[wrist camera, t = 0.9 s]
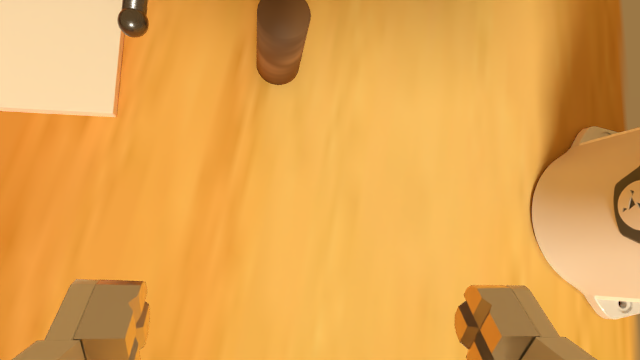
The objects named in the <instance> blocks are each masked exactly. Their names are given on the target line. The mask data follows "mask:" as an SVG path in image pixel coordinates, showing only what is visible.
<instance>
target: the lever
mask: <svg viewBox="0 0 640 360" xmlns="http://www.w3.org/2000/svg"><path fill="white" fill-rule="evenodd" d="M147 2H148V0H123V1H122V10H121V11H120V13H119V15H118V19H117V22H118V26H119V28H120V30H121V31H122V32H123V33H124V34H126V35H127V36H130V37H140V36H142V35H144V34H145V33H146V31H147V30H148V26H149V23H148V18H147V16H146V13H147Z"/></svg>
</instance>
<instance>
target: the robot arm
mask: <svg viewBox="0 0 640 360" xmlns="http://www.w3.org/2000/svg"><path fill="white" fill-rule="evenodd" d="M532 222H533V229H534V233H535V236H536V240H537V242H538V245H539V247H540V249H541V251H542V253H543V255H544V257H545V258H546V260H547V261H548V263H549V264H550V265H551V267H552V268H553V269H554V270H555V271H556V272H557V273H558V274H559V275H560V276H561V277H562V278H563V279H564V280H566V281H567V282H568V283H570V284H571V285H573V286H574V287H576V288H577V289H578V290H579V291H581V292H582V293H583V294H584V296H585V297H586V299H587V300H588V302H589V303H590V305H591V306H592V308H593V309H594V311H595V312H596V313H597V314H598V315H599V316H600V317H602V318H604V319H619V318H623V317H627V316H631V315H635V314H639V313H640V127H638V128H634V129H631V130H627V131H623V132H615V131H611V130H608V129H604V128H600V127H595V126H593V127H588V128H584V129H582V130H581V131H580V132H579V133H578V135H577V136H576V138H575V140H574V142H573V144H572V146H571V148H570V149H569V150H568V151H567V152H566V153H564V154H563V155H562V156H560V157H559V158H557V159H556V160H555V161H553V162H552V163H551V164H550V165H549V166H548V167H547V169H546V170H545V171H544V173H543V174H542V176H541V177H540V179H539V181H538V183H537V186H536V189H535V192H534V196H533V202H532ZM146 295H147V286H146V282H144V281H122V280H86V279H76V280H75V281H74V282H73V283H72V284H71V285H70V287H69V289H68V292H67V294H66V296H65V298H64V300H63V302H62V304H61V306H60V308H59V311H58V313H57V315H56V317H55V319H54V321H53V323H52V325H51V327H50V329H49V332H48V334H47V336H46V338H45V340H39V341H36V342H34V343H33V344H32V345H30V346H29V347H28V348H27V349H25V350H24V351H23V352H21V353H20V354H19V355H17V356H16V357H15V358H13V359H12V360H141V358H140V351H139V350H140V349H141V348H142V347H143V346H144V345H145V344H146V340H147V336H148V330H149V322H150V309H149V304H148V303H147V302H145V299H146ZM464 297H465V299H466V301H465V302H464V303H462V304H461V305H460V306H458V309H457V311H456V314H455V329H456V334H457V336H458V339H459V341H460V343H462V344H463V345H464V346H465V347H466V348H467V349H468V352H467V356H466V358H467V360H597V359H595V358H594V357H592V356H591V355H590V354H588V353H587V352H585V351H584V350H583V349H581V348H580V347H578V346H577V345H576V344H574V343H573V342H572V341H570V340H569V339H567V338H566V337H560V336H559V335H558V333H557V331H556V330H555V328H554V327H553V325H552V324H551V322H550V321H549V319H548V317H547V316H546V314H545V313H544V311H543V310H542V308H541V307H540V305H539V304H538V302H537V300H536V299H535V297H534V296H533V294H532V293H531V291H530V290H529V289H528V288H527V287H526V286H504V285H471V286H469V287H468V288H467V289H466V291H465V293H464ZM619 301H620V307H619Z"/></svg>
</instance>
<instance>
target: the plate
mask: <svg viewBox="0 0 640 360" xmlns="http://www.w3.org/2000/svg"><path fill="white" fill-rule="evenodd" d="M122 1H123V0H0V111H12V112H30V113H49V114H68V115H87V116H106V117H116V116H117V106H118V95H119V85H120V74H121V64H122V53H123V43H124V33H123V32H122V31H121V30H120V28H119V26H118V22H117V19H118V15H119V13H120V11H121V10H122Z"/></svg>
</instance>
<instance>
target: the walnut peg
mask: <svg viewBox="0 0 640 360" xmlns="http://www.w3.org/2000/svg"><path fill="white" fill-rule="evenodd" d="M310 17H311V14H310V9H309V6H308V4H307V2H306V1H305V0H261V1H260V2H259V5H258V9H257V70H258V72H259V74H260V76H261V77H262V78H263V79H264V80H266V81H267V82H269V83H271V84H275V85H282V84H286V83H288V82H290V81H292V80H293V79H294V78H295V76H296V75H297V73H298V69H299V65H300V61H301V57H302V52H303V48H304V44H305V40H306V35H307V31H308V27H309V23H310Z"/></svg>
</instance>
